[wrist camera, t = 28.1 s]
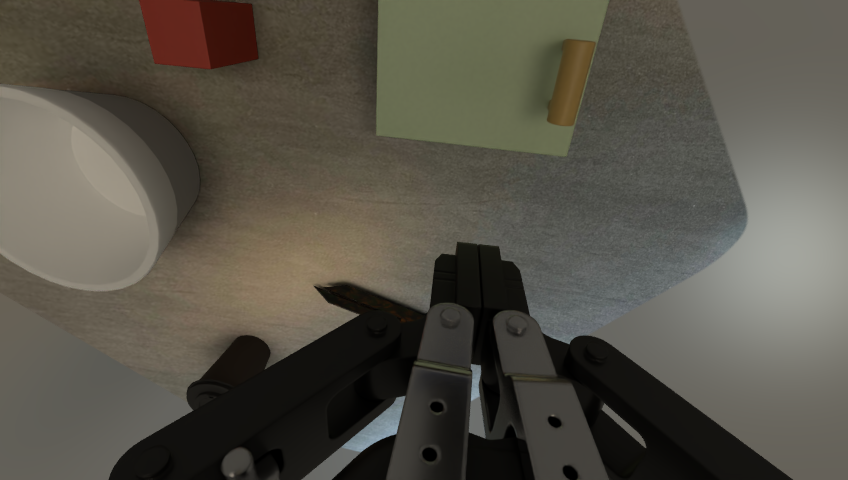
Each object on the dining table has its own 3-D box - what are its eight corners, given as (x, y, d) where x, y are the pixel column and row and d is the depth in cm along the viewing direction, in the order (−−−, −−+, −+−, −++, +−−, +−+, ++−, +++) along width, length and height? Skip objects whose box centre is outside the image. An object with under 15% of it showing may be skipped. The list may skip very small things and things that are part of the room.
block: (202, -1, 34) (137, -5, 27) (251, 3, 34) (198, 1, 27) (212, 54, 37) (154, 63, 30) (258, 58, 36) (210, 69, 29)
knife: (311, 290, 50) (307, 297, 49) (330, 254, 47) (326, 260, 46) (478, 369, 54) (479, 377, 53) (505, 341, 51) (506, 349, 50)
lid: (610, -17, 26) (639, -24, 21) (564, 154, 32) (579, 177, 27) (381, -37, 27) (361, -47, 22) (377, 133, 33) (361, 151, 28)
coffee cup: (260, 322, 53) (221, 382, 45) (290, 363, 57) (259, 425, 48) (212, 334, 55) (166, 394, 47) (244, 373, 59) (207, 435, 50)
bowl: (91, 20, 36) (-38, 21, 27) (257, 173, 42) (200, 218, 33) (18, 151, 43) (-103, 188, 34) (169, 265, 50) (101, 322, 40)
